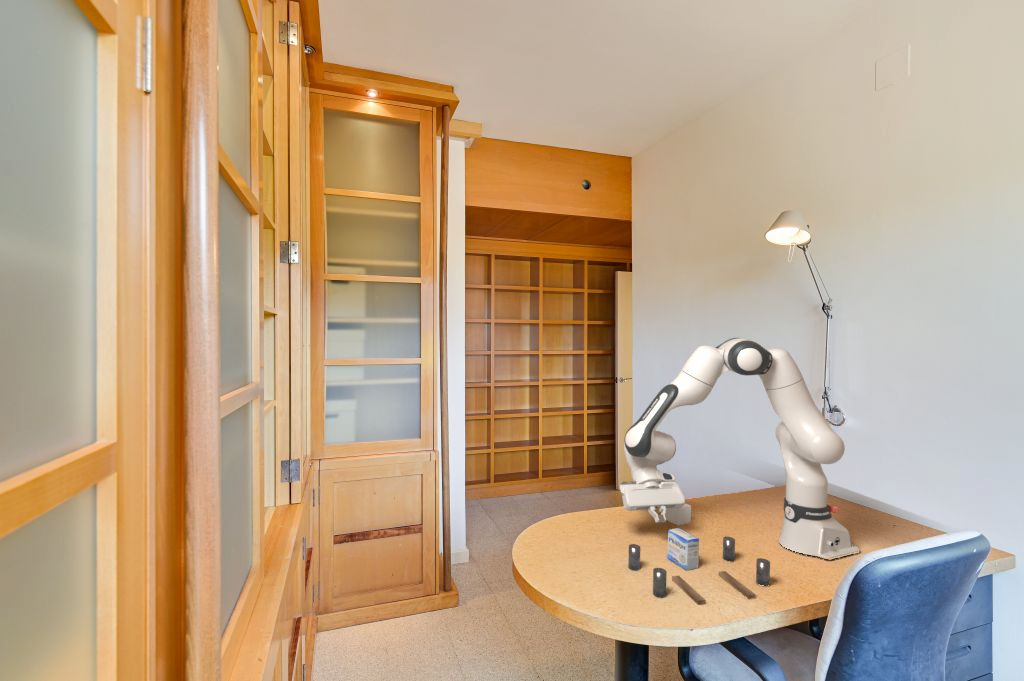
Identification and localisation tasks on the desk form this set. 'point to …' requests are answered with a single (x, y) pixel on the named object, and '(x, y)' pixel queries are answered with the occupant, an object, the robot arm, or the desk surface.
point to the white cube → (679, 515)
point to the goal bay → (723, 575)
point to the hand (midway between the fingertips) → (661, 521)
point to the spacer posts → (728, 555)
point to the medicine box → (683, 549)
